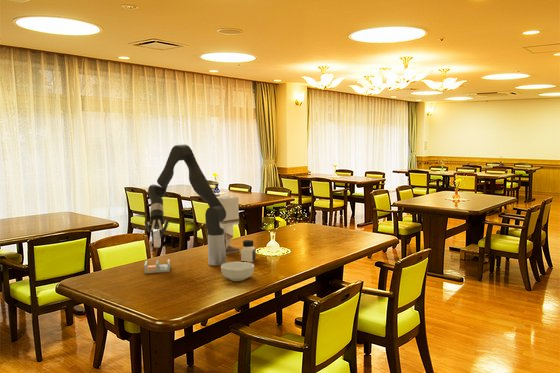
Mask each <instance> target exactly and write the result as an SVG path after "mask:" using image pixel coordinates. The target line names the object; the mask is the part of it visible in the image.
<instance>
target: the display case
mask: <svg viewBox="0 0 560 373" xmlns="http://www.w3.org/2000/svg"><path fill="white" fill-rule="evenodd" d="M216 197H217V198H218V200H219V201H220V203H221V204H222V205H223V207H224V208H225V211H226V218H225V219H224V220H223V221H220V222H219V223H220V227H221V228H223V229H224V247H226V255H230V254H234V252H235V253H239V252H240V248H239V247H236V246H232V245H231V240H232V239H233V238H234V226H236V225H240V216H239V215H240V214H239V212H240V210H239V209H240V208H239V205H240V204H239V201H240V200H239V196H237V197H236V196H234V197H230V195H223V196H222V195H221V196H216Z"/></svg>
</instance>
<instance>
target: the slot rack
mask: <svg viewBox="0 0 560 373" xmlns="http://www.w3.org/2000/svg"><path fill="white" fill-rule="evenodd" d="M170 261H171V260H170V258H169V259H167V264H159V263H160V261H159V259H157V260H156V262H155V264H153V265H151V264H150V265H148V260H145V261H144V264H143V265H144V274H153V273H169V272H171V264H170Z"/></svg>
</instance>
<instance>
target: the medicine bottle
mask: <svg viewBox="0 0 560 373" xmlns="http://www.w3.org/2000/svg"><path fill="white" fill-rule="evenodd" d="M242 247H243V248H241V249H240V262H241V261H245V262H246V261H247V262H249V263H253V262H254V261H255V260H256V259H257V258H256V256H257V253H256V247H254V240H252V239H245V240H243V242H242Z"/></svg>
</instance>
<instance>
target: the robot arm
mask: <svg viewBox="0 0 560 373" xmlns="http://www.w3.org/2000/svg"><path fill="white" fill-rule="evenodd" d="M181 161H184V163H185V166H187V169H188V181H189V183H190V185H191V187H192V189H193V191H194V192H195V193H196V194H197V195H198V196H199V197H200V198H201V199H203V200H204V201H205V203H206V204H207V205H208V208H207V209H206V210H205V213H204V214H205V215H204V216H205V229H206V231H207V258H208V262H207V263H208V266H213V267H214V266H221V265H222V264H224V263H227V256H226V255H227V254H226V247H224V229H223V228H221V227H220V223H219V222H220V221H223V220H224V219H225V218H226V211H225V208H224V207H223V205H222V204H221V203H220V201H219V200H218V198H217V197H218V196H216V194H215V192H214V190H213V189H212V187H211V185H210V183H209V182H208V179H207V178H206V176H205V174H204V173H203V171H202V169H201V167H200V165H199V164H198V162H197V159H196V157H195V154H194V152H193V150H192V148H191V147H190V145H188V144H184V143H183V144H175V145H173V146H172V148H171V149H170V152H169V154H168V156H167V159H166V163H165V165H164V167H163V169H162V171H161V173H160V174H159V176H158V177H157V180H156V182H157V183H156V184H153V183H152V184H150V185H149V186H148V189H147V192H148V193H147V194H148V197H149V200H150V210H149V211H150V212H149V213H150V214H149V217H150V218H149V221H144V226H145V228H146V231H147V232H148V233H150V236H151V238H152V239H153V227H160V239H161V238H162V237H163V233H164V232H166V230H168V227H169V224H170V223H169V222H170V221H169V220H165V219H164V213H165V212H164V199H163V198H164V197H165V196H166V194H167V188H168V186H169V184H170V182H171V181H172V179H173V177H174V172H175V166H176V165H177V163H178V162H181ZM157 184H158V185H157ZM163 225H164V226H163ZM150 226H151V227H150Z"/></svg>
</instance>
